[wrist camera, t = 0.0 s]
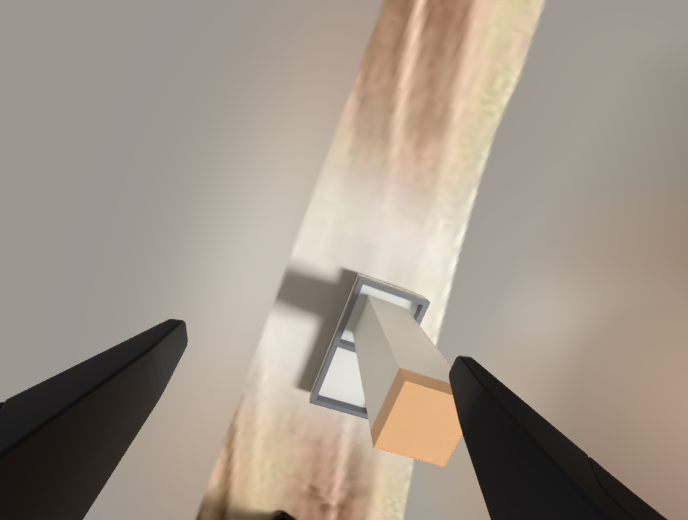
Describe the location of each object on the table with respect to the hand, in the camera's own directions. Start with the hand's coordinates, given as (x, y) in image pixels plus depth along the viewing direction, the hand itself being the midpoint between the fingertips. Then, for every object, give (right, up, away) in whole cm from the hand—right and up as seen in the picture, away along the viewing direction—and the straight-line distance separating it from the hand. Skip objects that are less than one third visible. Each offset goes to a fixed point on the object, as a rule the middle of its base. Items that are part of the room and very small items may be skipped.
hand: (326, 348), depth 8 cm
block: (+4, -3, +16) cm, 17 cm away
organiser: (+3, -6, +17) cm, 18 cm away
